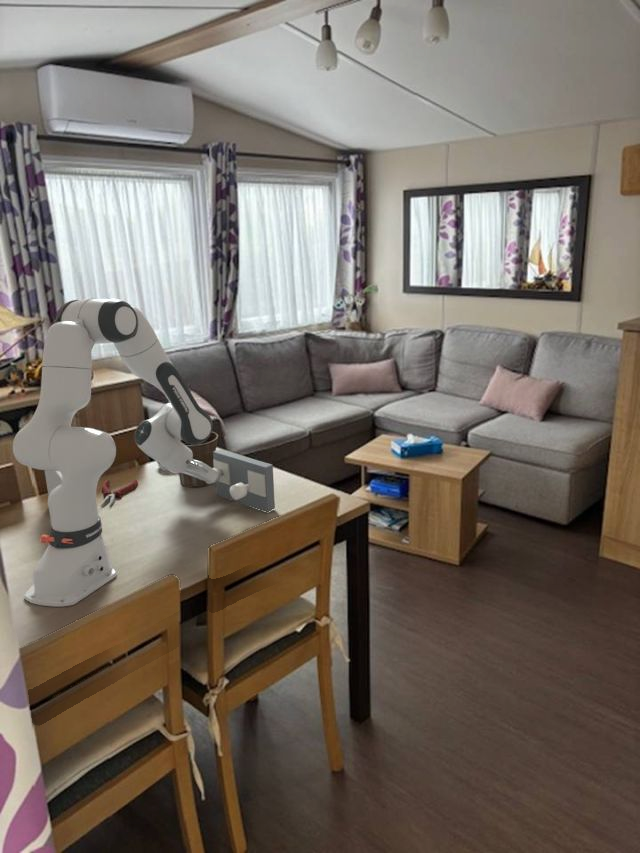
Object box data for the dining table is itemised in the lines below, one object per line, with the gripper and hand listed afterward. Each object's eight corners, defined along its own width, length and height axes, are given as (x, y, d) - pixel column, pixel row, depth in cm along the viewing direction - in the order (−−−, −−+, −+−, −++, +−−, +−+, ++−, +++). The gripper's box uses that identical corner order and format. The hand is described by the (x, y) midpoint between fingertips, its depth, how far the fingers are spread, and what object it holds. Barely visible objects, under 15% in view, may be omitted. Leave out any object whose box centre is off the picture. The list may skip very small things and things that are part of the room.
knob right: (240, 501, 186) (239, 487, 185) (230, 497, 189) (229, 484, 187) (253, 495, 190) (252, 481, 189) (243, 492, 193) (242, 478, 191)
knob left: (212, 485, 198) (211, 472, 197) (203, 482, 201) (202, 469, 200) (226, 480, 202) (225, 467, 201) (216, 477, 205) (215, 464, 204)
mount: (266, 514, 193) (264, 468, 189) (215, 495, 208) (211, 452, 204) (274, 510, 196) (272, 464, 191) (223, 491, 211) (220, 449, 206)
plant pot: (199, 493, 210) (195, 447, 205) (164, 485, 218) (159, 440, 213) (230, 477, 223) (227, 434, 218) (196, 470, 231) (192, 427, 226)
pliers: (87, 510, 200) (86, 502, 200) (106, 486, 220) (105, 479, 219) (124, 509, 201) (123, 501, 200) (139, 485, 220) (138, 477, 219)
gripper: (205, 456, 184) (232, 477, 194) (162, 442, 196) (190, 463, 206) (194, 475, 182) (222, 495, 192) (151, 460, 194) (180, 480, 204)
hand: (205, 478), depth 199 cm, fingers closed, pressing on knob left
